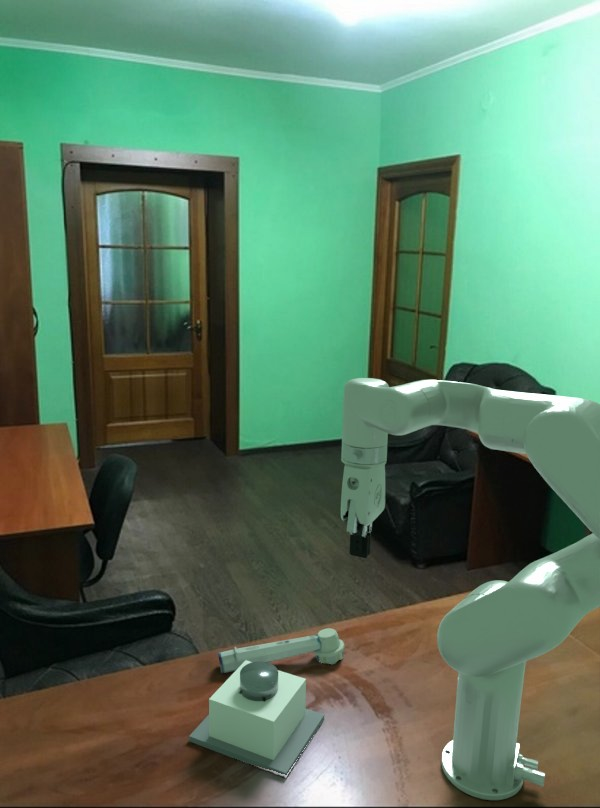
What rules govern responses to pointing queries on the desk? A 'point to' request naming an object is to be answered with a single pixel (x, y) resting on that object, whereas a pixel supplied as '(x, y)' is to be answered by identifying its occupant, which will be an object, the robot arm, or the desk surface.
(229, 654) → the white flashlight
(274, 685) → the steel pin
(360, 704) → the desk surface
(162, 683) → the desk surface
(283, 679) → the hitch block
